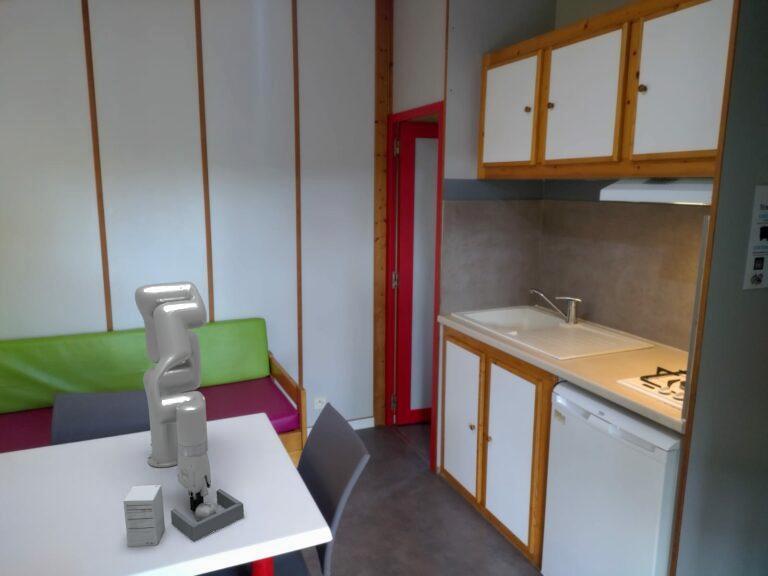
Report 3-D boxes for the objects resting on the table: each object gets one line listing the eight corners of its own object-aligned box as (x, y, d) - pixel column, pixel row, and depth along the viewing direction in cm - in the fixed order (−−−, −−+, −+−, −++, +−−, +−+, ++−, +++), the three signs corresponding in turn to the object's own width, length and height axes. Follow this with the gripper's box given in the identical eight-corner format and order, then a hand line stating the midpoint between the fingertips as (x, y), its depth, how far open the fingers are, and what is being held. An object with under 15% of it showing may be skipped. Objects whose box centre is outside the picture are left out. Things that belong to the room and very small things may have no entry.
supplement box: (136, 530, 151) (132, 485, 149) (165, 528, 152) (162, 484, 149) (126, 547, 144) (122, 500, 142) (157, 545, 144) (153, 499, 142)
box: (171, 524, 154) (170, 510, 153) (220, 501, 164) (220, 488, 164) (193, 541, 146) (192, 527, 145) (243, 517, 157) (243, 503, 156)
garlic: (221, 520, 155) (220, 502, 154) (202, 528, 152) (201, 510, 151) (210, 511, 160) (209, 493, 159) (191, 519, 156) (190, 501, 155)
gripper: (166, 442, 158) (171, 504, 161) (194, 460, 148) (199, 526, 151) (191, 434, 163) (195, 494, 166) (220, 450, 153) (224, 514, 156)
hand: (197, 509), depth 159 cm, fingers closed
